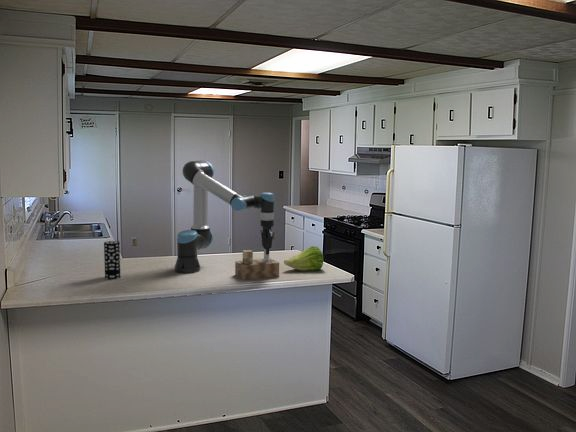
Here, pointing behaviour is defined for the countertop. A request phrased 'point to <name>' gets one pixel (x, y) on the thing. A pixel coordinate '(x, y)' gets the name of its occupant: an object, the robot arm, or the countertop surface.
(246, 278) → the socket block
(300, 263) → the lettuce
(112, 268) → the white-spotted black cylinder
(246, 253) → the oak peg
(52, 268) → the countertop surface
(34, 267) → the countertop surface
